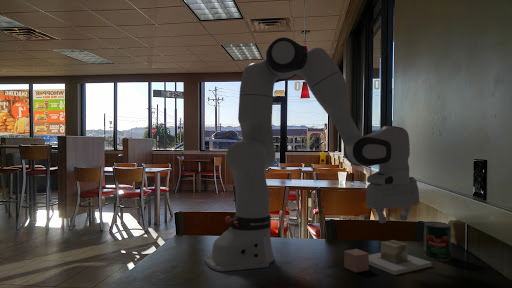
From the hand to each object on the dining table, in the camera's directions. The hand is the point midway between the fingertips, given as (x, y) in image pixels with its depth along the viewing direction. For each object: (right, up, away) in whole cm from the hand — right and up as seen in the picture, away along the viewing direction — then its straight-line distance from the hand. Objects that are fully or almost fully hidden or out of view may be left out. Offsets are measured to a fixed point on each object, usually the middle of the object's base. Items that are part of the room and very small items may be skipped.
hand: (393, 221), depth 107 cm
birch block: (0, -12, 0) cm, 12 cm away
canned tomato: (+17, -14, +6) cm, 23 cm away
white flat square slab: (0, -13, 0) cm, 13 cm away
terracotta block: (-13, -13, -5) cm, 19 cm away
